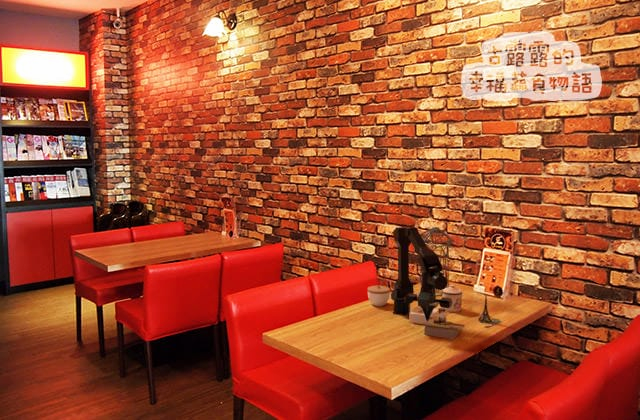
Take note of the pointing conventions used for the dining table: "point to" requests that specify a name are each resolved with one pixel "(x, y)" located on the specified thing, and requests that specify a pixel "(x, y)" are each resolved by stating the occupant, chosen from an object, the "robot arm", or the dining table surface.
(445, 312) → the steel pin
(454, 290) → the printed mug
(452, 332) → the socket block
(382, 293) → the lidded jar
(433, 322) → the brass guide bars
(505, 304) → the dining table surface
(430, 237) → the geometric lantern
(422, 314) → the square hole block
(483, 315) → the eiffel tower figurine
